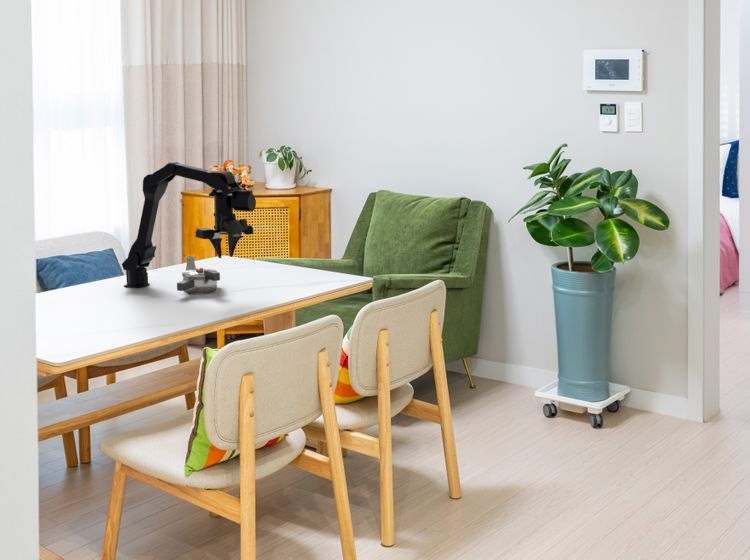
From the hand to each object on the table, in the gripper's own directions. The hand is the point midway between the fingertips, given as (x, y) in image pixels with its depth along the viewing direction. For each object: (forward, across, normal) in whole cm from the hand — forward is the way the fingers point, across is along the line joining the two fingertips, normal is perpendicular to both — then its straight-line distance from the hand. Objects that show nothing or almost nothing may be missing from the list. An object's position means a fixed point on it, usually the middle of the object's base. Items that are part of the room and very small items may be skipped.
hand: (225, 257), depth 313 cm
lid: (+7, -5, +6) cm, 10 cm away
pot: (+12, -6, +8) cm, 16 cm away
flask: (+12, -3, +19) cm, 23 cm away
